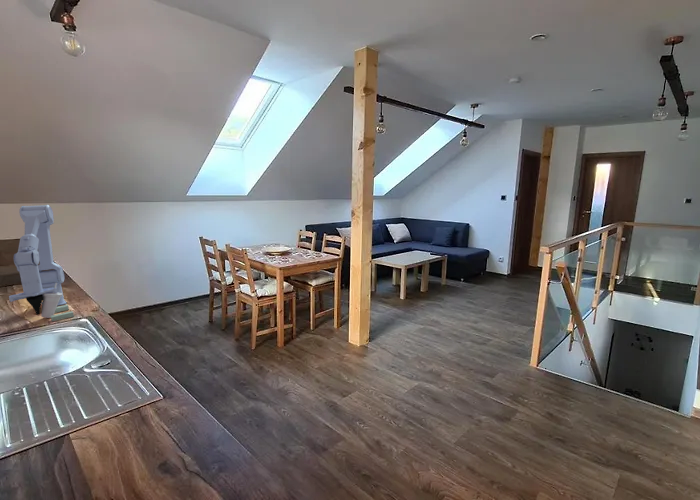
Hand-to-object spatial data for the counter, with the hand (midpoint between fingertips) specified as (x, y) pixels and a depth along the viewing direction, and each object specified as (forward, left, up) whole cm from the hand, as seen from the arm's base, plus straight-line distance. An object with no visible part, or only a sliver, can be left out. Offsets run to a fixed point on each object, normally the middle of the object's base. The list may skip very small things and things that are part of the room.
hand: (38, 313), depth 148 cm
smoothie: (0, +3, -2) cm, 3 cm away
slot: (0, +7, -2) cm, 7 cm away
